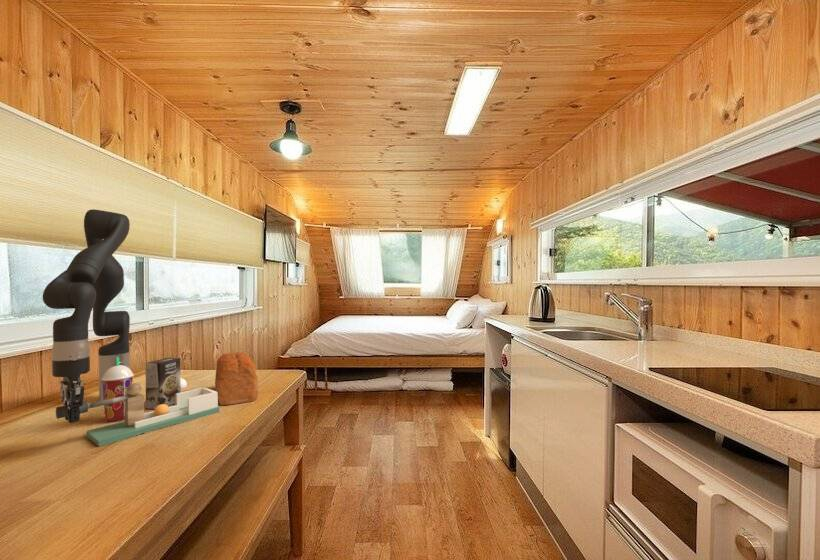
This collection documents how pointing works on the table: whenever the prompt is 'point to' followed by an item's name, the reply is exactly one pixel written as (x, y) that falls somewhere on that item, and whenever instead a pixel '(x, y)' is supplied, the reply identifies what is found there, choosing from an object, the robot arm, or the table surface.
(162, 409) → the ball
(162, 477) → the table surface
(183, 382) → the garlic bulb
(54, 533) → the table surface
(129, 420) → the rod
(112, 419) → the smoothie
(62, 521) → the table surface
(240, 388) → the bread
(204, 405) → the pitch
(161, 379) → the coffee box
